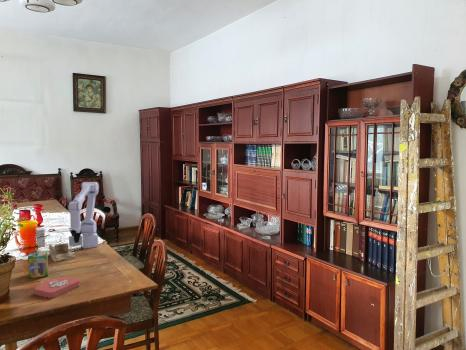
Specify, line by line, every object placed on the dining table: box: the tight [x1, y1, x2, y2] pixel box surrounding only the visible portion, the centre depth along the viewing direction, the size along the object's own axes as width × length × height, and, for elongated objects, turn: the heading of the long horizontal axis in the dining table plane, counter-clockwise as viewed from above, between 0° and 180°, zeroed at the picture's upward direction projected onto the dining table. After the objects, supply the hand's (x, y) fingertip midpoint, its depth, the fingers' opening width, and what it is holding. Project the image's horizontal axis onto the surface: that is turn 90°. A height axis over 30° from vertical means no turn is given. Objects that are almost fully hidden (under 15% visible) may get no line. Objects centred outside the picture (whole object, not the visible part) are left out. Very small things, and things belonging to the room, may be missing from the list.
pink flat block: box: [34, 276, 81, 299], centre depth 180 cm, size 18×4×15 cm
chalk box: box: [27, 247, 49, 279], centre depth 198 cm, size 9×9×15 cm
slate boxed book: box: [68, 234, 83, 247], centre depth 233 cm, size 7×4×6 cm, turn 126°
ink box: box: [36, 227, 46, 248], centre depth 252 cm, size 8×5×12 cm, turn 123°
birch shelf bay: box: [48, 242, 77, 263], centre depth 230 cm, size 12×16×7 cm
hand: (75, 241), depth 233 cm, fingers closed on slate boxed book, 4 cm apart
